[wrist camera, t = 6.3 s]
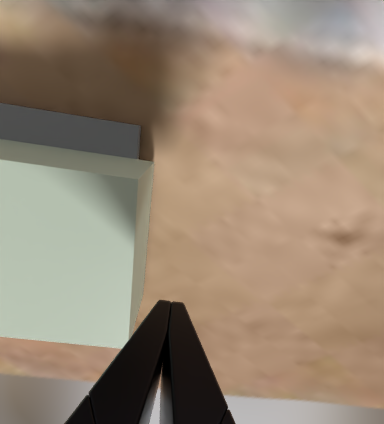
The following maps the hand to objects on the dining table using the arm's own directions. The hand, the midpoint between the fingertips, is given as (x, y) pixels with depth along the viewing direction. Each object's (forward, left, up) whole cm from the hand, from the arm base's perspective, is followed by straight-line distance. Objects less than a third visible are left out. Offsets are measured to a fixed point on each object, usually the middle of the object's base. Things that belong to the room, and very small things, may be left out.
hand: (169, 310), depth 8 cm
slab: (+2, 0, -3) cm, 3 cm away
